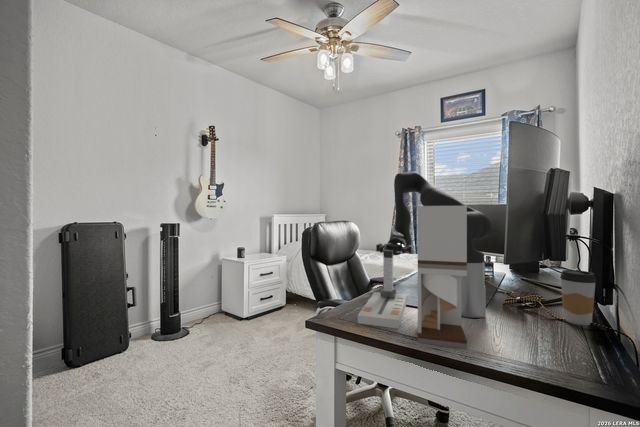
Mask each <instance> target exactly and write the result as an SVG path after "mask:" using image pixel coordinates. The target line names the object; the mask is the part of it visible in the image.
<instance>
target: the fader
mask: <svg viewBox="0 0 640 427" xmlns="http://www.w3.org/2000/svg"><path fill="white" fill-rule="evenodd" d="M383 250H384V249H383ZM382 254H383V257H382V258H383V261H382V262H383V288H382V289H381V290H380V292H381V297H389V298H395V297H396V294H397V289H395V288H394V255H393V250H384V251H383V252H382Z"/></svg>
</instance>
